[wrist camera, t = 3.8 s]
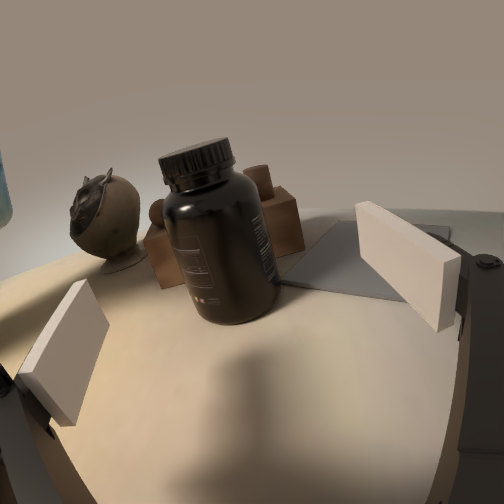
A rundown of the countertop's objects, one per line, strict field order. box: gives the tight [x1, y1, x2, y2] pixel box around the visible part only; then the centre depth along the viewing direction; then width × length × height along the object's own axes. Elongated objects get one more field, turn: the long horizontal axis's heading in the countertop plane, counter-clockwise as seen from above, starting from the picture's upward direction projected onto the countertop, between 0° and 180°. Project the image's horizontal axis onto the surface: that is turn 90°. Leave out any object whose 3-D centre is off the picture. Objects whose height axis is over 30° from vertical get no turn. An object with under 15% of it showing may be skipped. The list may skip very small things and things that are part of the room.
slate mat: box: [280, 221, 450, 302], centre depth 26 cm, size 12×12×1 cm
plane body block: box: [143, 165, 305, 289], centre depth 31 cm, size 14×6×8 cm, turn 98°
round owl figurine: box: [70, 168, 148, 273], centre depth 38 cm, size 10×12×10 cm
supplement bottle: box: [158, 137, 281, 325], centre depth 23 cm, size 7×7×12 cm
